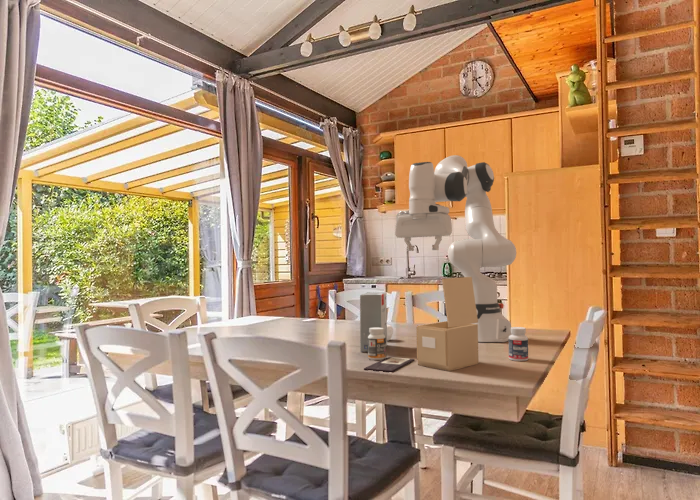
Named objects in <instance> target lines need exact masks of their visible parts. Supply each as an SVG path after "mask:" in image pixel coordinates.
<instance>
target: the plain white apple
mask: <svg viewBox="0 0 700 500" xmlns="http://www.w3.org/2000/svg"><path fill="white" fill-rule="evenodd" d="M393 335H394V328H393V326H392V325H391V324H387V342H388V341H390V340H391V338H392V337H393Z"/></svg>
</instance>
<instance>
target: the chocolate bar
mask: <svg viewBox="0 0 700 500" xmlns="http://www.w3.org/2000/svg"><path fill="white" fill-rule="evenodd" d="M413 362H415V358H402V357H391V356H388V357H386V358H385V359H383V360H378V361H376V362H375V363H372V364H371V365H368V366H366V367H363V371H368V370H373V371H372V372H379V371H383V372H382V373H389V372H393V373H394V372H396V371H399V370H400V369H402V368H404V367H405V366H408V365H409V364H411V363H413Z"/></svg>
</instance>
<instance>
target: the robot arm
mask: <svg viewBox="0 0 700 500" xmlns="http://www.w3.org/2000/svg"><path fill="white" fill-rule="evenodd" d="M494 181H495V174H494V170H493V168H492V167H491V166H490V164H488V163H487V162H485V161H483V162H477V163H475V164H473V165H471V166H468V163H467V161H466V159H465V158H464V157H462V156H461V155H455V154H454V155H449V156H447V157H445V158H444V159H442V160H440V161H439V162H438V163H437V164H436V166H435V168H434V164H433V162H431V161H424V162H423V161H422V162H421V161H420V162H414V163H412V164H411V165H410V169H409V175H408V190H409V198H408V210H403V211H402V210H401V211H399V212H398V213H397V214H396V215H395V225H394V226H395V227H394V229H395V230H394V235H395V237H396V238H397V239H398V238H399V239H400V238H401V239H404V242H405V245H406V246H407V251H408V252H409V251H410V252H414V250H415V248H414V247H415V246H414V245H412V243H411V241H412V238H427V237H429V238H431V237H434V239H435V242H434V244H432V246H431V247H432V248H431V250H432V251H439V245H440V244H441V241H442V239H443V237H448V236H449V237H450V236H451V234H453V233H452V232H453V224H452V218H451V216H450V214H449V213H450V208H449V207H448V206H444V205H441V204H439V203H443V202H445V203H446V202H461V201H463V199H464V198H466V200H465V207H464V220H465V221H464V222H465V231H466V234H467V235H469V236H470V239H469V238H468V239H467V238H466V239H465V238H463V239H460V240H454V241H453V242H451V243H450V245H449V247H448V249H447V258H448V260H449V263H450V264H451V265H452V266H453V267H455V268H456V269H458V271H460V273H461V274H462V277H472V282H473V290H474V297H475V304H476V311H477V319H478V323H472V324H478V343H506V342H509V336H510V335H512V333H511V327H512V323H511V321H510V320H509V319H508V318H506V316H505V315H504V314H502V313H501V310H503V309H504V303H503V302H502V303H500V302H499V303H498V284H497V282H496V280H494V279H493V278H491V277H489V276H487V275H485V274H483V273H482V272H481V268H496V267H497V268H500V267H505V266H511V265H512V264H514V261H515V260H516V257H517V248H516V245H515V244H514V243H513V241H512V240H510V239H507V238H506V237H504V236H503V235H501V233H500V232H499V231H498V230H497V228H496V225H495V222H494V221H495V220H494V216H493V209H492V203H491V201H490V198H489V196H488V195H487V193H490V191H491V190H492V186H493V185H494ZM437 203H438V204H437Z"/></svg>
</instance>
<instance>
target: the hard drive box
mask: <svg viewBox="0 0 700 500" xmlns="http://www.w3.org/2000/svg"><path fill="white" fill-rule="evenodd" d="M387 305H388V303H387V292H383V291H382V292H379V291H378V292H376V291H375V292H374V291H373V292H365V293H362V294H360V296H359V350H360V351H359V352H364V353H365V352H367V353H368V336H369V335H370V332H369V328H375V327H379V328H383V329H384V332H383V335H385V342H386V347H387V346H388V341H387V325H388V322H387V321H388V317H387V311H388V309H387Z"/></svg>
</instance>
